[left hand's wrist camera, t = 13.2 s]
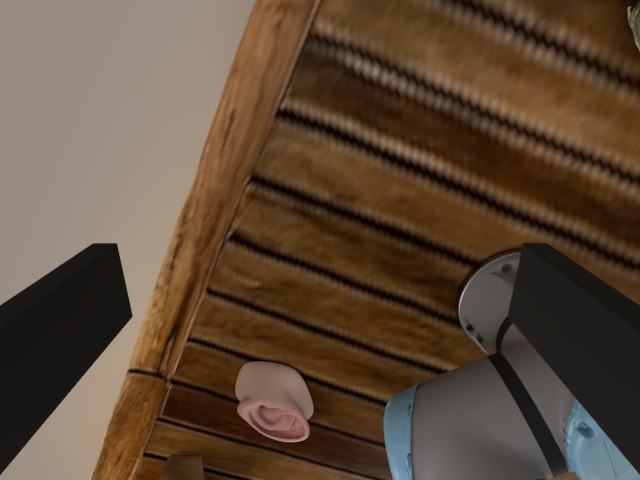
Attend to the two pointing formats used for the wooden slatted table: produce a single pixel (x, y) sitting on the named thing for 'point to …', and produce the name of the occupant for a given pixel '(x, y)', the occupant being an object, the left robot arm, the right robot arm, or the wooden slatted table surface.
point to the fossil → (635, 21)
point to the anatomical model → (274, 400)
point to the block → (183, 468)
